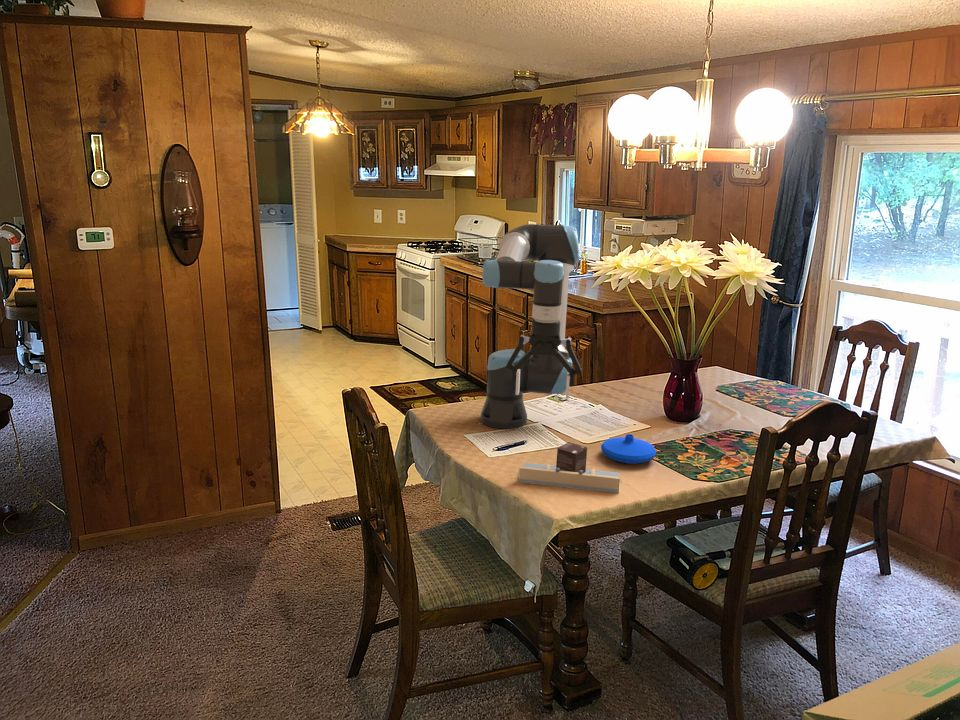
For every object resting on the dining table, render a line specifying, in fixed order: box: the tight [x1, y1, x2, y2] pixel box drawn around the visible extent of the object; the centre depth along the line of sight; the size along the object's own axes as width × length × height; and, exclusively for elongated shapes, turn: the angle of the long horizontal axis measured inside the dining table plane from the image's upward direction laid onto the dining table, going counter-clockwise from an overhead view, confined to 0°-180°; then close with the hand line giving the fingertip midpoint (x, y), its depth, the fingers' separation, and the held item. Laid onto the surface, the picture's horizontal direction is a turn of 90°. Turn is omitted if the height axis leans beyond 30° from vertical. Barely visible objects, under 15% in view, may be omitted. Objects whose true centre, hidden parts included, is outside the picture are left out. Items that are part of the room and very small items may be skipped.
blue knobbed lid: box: [600, 433, 657, 465], centre depth 216 cm, size 16×16×7 cm
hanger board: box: [518, 462, 621, 494], centre depth 200 cm, size 11×26×5 cm, turn 78°
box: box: [555, 441, 588, 473], centre depth 202 cm, size 6×6×7 cm
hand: (542, 395), depth 205 cm, fingers open, 13 cm apart
